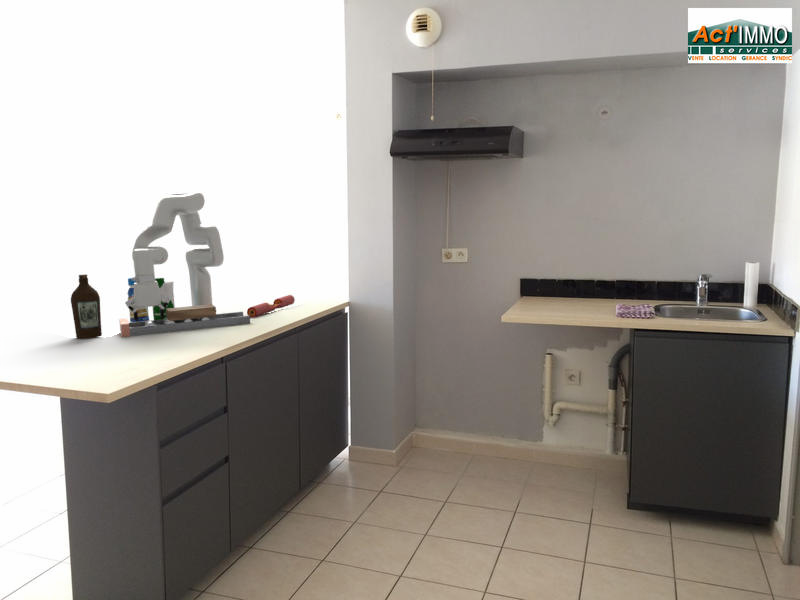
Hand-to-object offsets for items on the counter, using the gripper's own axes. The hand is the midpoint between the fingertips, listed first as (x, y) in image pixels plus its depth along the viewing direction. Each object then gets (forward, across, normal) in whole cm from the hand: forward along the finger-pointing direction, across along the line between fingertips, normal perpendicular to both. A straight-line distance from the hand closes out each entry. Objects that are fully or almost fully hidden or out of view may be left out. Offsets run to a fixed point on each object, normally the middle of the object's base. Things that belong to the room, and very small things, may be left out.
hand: (149, 319), depth 288 cm
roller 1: (+5, -1, -1) cm, 5 cm away
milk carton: (+5, +8, +19) cm, 21 cm away
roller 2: (+5, +8, -1) cm, 9 cm away
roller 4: (+5, +22, -1) cm, 22 cm away
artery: (+6, +57, +25) cm, 63 cm away
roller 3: (+5, +15, -1) cm, 15 cm away
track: (+5, +14, -1) cm, 15 cm away
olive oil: (+4, -23, +1) cm, 24 cm away
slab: (+1, +17, -1) cm, 17 cm away
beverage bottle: (+5, -2, +29) cm, 29 cm away
